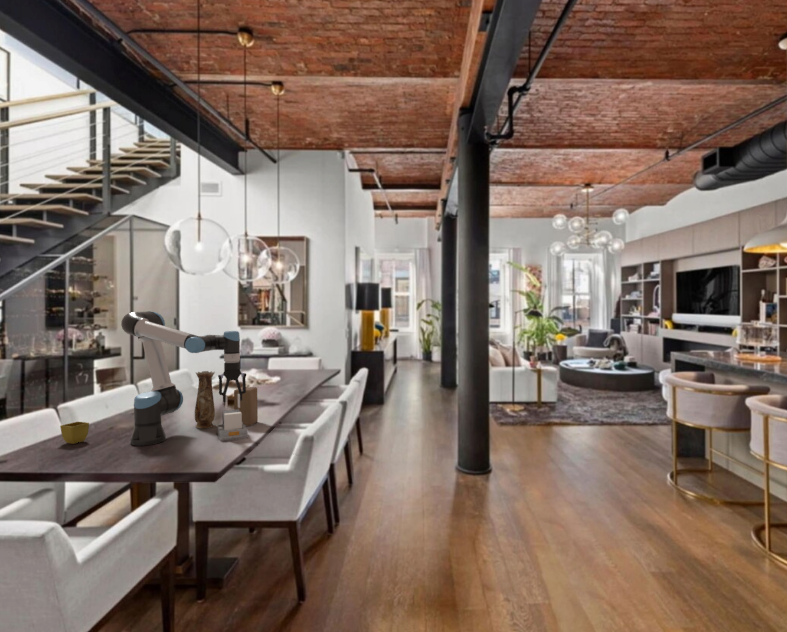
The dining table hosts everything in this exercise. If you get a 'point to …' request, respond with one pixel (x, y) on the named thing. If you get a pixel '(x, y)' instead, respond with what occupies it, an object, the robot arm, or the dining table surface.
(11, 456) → the dining table surface
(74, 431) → the flower pot
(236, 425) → the panel
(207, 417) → the vase
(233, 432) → the frame
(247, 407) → the block
